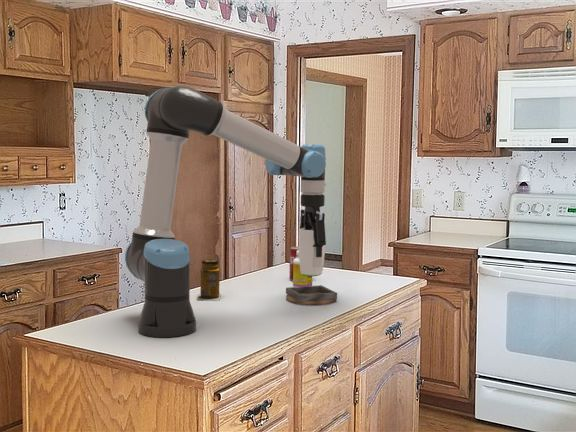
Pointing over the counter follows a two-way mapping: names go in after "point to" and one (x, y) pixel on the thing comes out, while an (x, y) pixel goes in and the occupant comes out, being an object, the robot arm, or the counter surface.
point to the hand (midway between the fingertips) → (311, 264)
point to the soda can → (292, 257)
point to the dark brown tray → (310, 295)
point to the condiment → (209, 280)
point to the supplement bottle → (298, 278)
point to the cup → (308, 253)
